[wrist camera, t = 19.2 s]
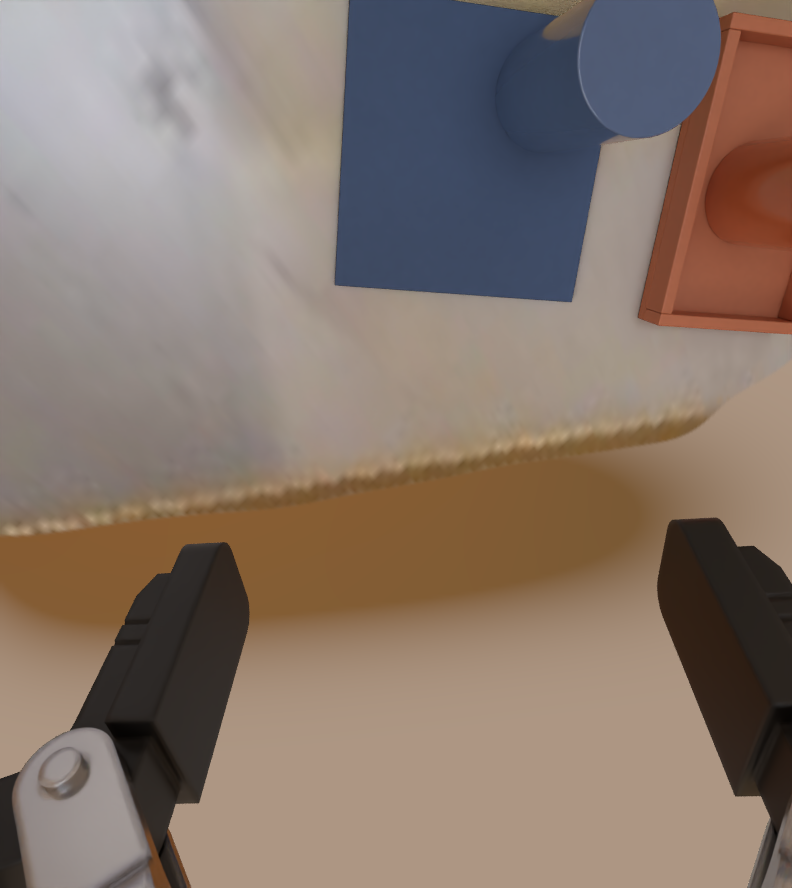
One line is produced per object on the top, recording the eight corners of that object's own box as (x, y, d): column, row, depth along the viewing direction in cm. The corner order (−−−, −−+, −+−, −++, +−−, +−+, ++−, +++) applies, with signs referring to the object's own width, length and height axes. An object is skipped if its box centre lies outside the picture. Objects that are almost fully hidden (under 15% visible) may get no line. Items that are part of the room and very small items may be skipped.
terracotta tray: (704, 23, 28) (733, 11, 26) (861, 48, 29) (901, 37, 27) (637, 317, 33) (658, 325, 31) (775, 327, 34) (804, 335, 32)
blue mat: (350, -14, 26) (350, -16, 25) (620, 27, 28) (623, 25, 27) (334, 284, 30) (335, 285, 30) (569, 301, 32) (571, 302, 32)
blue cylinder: (503, 24, 27) (594, -51, 18) (608, 39, 28) (740, -26, 19) (487, 148, 28) (564, 129, 20) (586, 158, 29) (699, 145, 21)
